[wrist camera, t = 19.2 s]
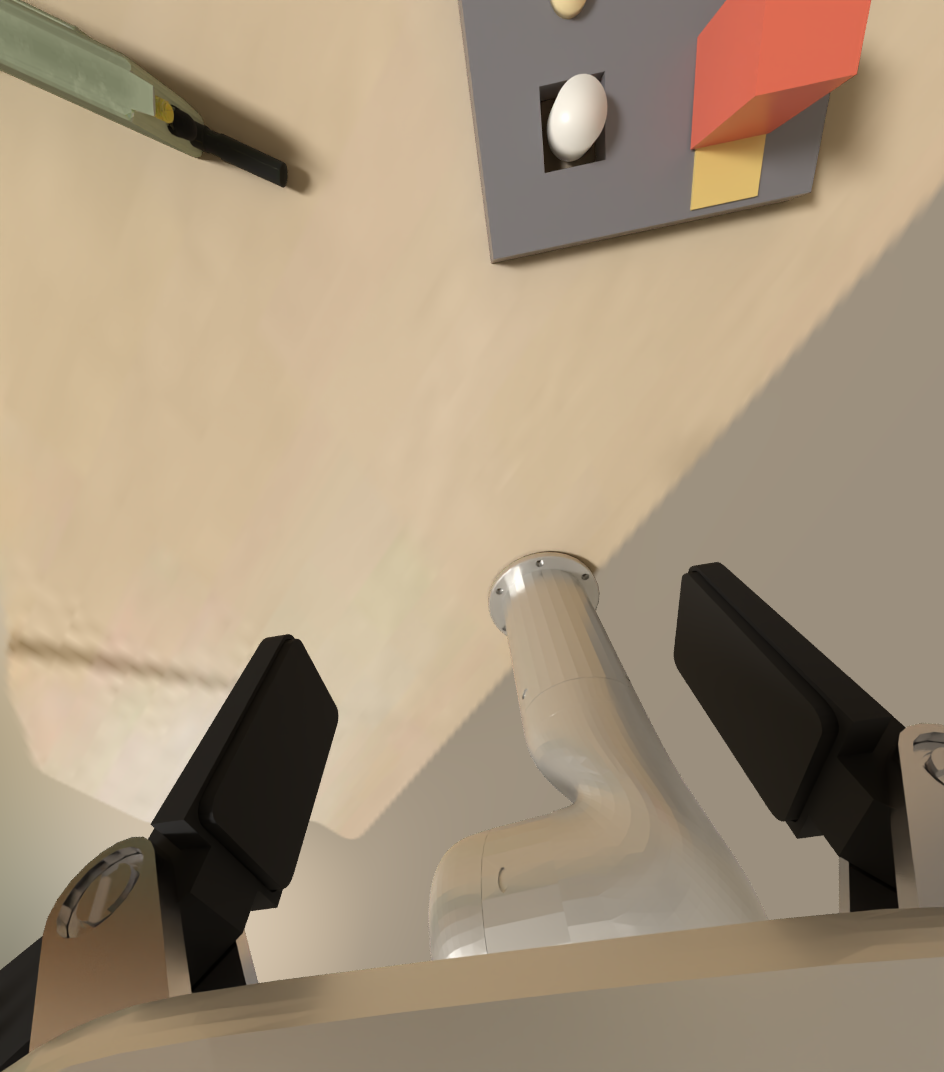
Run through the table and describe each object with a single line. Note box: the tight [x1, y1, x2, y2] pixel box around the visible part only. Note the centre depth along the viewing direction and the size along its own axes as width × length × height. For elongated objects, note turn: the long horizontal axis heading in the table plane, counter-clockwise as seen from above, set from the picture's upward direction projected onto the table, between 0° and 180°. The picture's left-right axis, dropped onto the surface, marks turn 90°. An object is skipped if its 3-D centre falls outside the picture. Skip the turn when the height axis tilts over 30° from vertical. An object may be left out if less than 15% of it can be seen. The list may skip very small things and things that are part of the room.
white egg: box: [547, 74, 607, 162], centre depth 24 cm, size 3×3×2 cm
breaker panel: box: [458, 0, 830, 263], centre depth 24 cm, size 15×22×3 cm
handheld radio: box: [0, 0, 287, 187], centre depth 21 cm, size 7×3×25 cm
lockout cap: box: [690, 0, 871, 150], centre depth 21 cm, size 5×5×6 cm
